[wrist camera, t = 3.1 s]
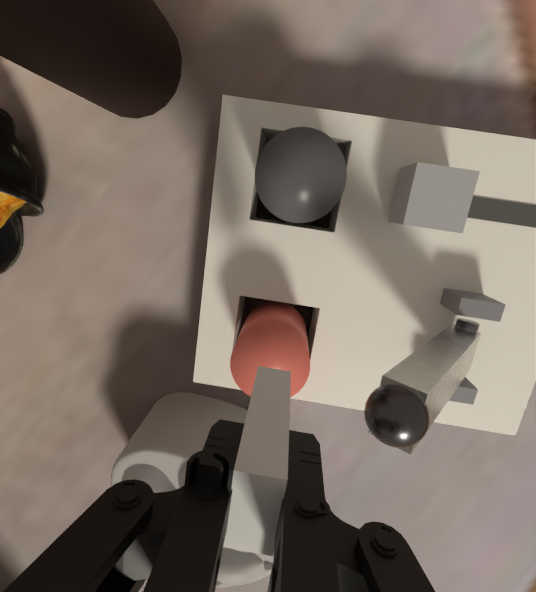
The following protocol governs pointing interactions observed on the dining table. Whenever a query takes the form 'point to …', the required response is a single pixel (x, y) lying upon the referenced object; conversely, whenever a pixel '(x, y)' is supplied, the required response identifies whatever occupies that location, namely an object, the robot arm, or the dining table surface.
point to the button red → (271, 346)
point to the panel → (378, 261)
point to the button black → (300, 174)
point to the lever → (421, 386)
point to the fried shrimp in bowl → (14, 192)
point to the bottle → (96, 50)
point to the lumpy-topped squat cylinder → (185, 463)
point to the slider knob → (433, 196)
